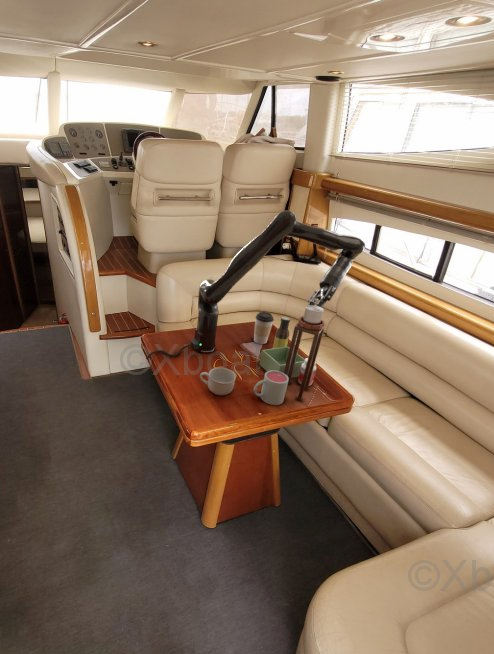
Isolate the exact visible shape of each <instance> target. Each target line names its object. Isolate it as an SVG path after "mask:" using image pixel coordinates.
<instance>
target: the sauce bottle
mask: <svg viewBox="0 0 494 654" xmlns="http://www.w3.org/2000/svg"><path fill="white" fill-rule="evenodd" d="M290 322H291V318H290V317H287V316H282V317H281V318H280V325H279V327H278V328H277V329H276V331H275V335H274V341H273V345H272V349H273V348H280V347H287V346H288V343H289V339H290V330H289V326H290Z"/></svg>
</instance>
